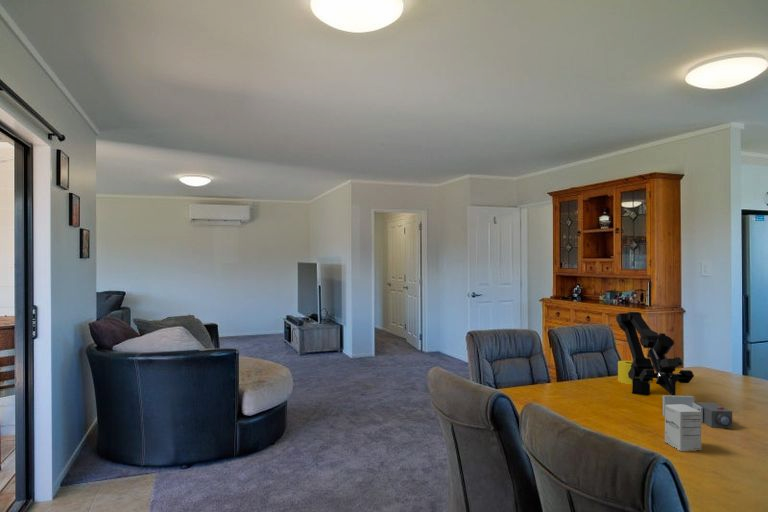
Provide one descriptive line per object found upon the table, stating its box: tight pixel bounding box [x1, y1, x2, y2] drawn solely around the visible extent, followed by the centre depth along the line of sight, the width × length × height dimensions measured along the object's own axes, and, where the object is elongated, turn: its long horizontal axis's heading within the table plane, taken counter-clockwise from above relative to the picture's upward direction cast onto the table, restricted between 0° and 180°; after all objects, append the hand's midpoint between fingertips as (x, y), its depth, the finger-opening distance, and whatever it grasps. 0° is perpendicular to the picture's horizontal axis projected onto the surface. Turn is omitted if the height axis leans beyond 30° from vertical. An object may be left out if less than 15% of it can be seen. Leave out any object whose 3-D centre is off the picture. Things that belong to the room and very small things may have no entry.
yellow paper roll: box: [617, 360, 633, 385], centre depth 227 cm, size 10×10×9 cm
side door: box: [662, 394, 704, 424], centre depth 174 cm, size 6×11×8 cm, turn 85°
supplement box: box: [664, 404, 702, 452], centre depth 149 cm, size 7×7×13 cm
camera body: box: [694, 401, 733, 429], centre depth 170 cm, size 12×7×7 cm, turn 175°
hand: (674, 395), depth 180 cm, fingers closed
